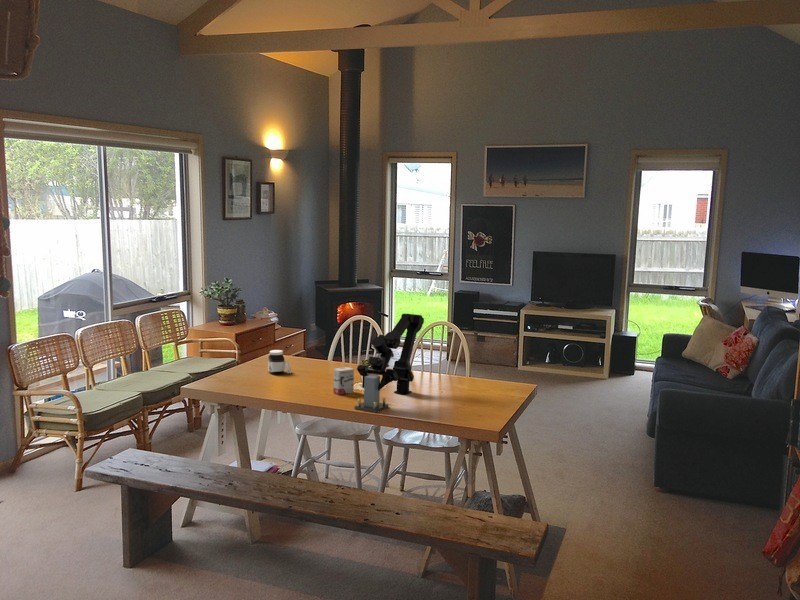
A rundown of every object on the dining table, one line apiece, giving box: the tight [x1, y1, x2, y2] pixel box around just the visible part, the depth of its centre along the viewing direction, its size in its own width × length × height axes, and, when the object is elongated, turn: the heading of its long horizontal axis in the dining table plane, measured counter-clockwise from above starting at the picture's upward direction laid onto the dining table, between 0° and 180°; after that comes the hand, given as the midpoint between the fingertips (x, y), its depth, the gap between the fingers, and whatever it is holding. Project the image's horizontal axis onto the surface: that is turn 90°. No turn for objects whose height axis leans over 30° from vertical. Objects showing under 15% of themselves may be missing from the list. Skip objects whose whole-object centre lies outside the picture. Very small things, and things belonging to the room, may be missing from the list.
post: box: [363, 374, 381, 408], centre depth 307 cm, size 5×5×13 cm
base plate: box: [354, 397, 389, 414], centre depth 307 cm, size 11×11×4 cm
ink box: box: [333, 366, 355, 396], centre depth 330 cm, size 9×5×12 cm, turn 126°
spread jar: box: [267, 349, 292, 375], centre depth 366 cm, size 12×11×12 cm
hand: (370, 388), depth 305 cm, fingers open, 7 cm apart
